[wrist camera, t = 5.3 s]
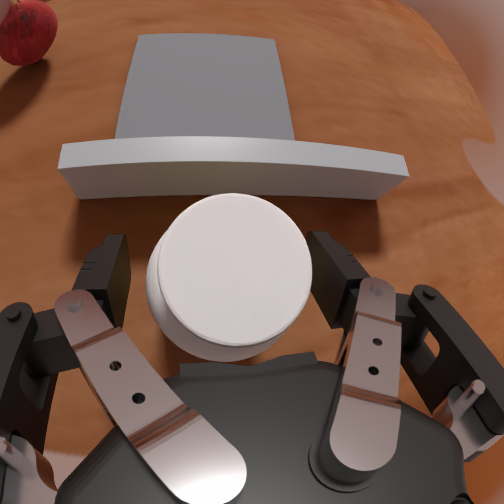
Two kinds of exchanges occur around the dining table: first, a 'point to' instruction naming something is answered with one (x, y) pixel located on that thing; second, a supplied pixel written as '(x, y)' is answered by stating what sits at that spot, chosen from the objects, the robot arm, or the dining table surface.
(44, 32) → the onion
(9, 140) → the dining table surface
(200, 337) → the supplement bottle
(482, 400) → the robot arm
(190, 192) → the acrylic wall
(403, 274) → the dining table surface
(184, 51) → the slate mat
